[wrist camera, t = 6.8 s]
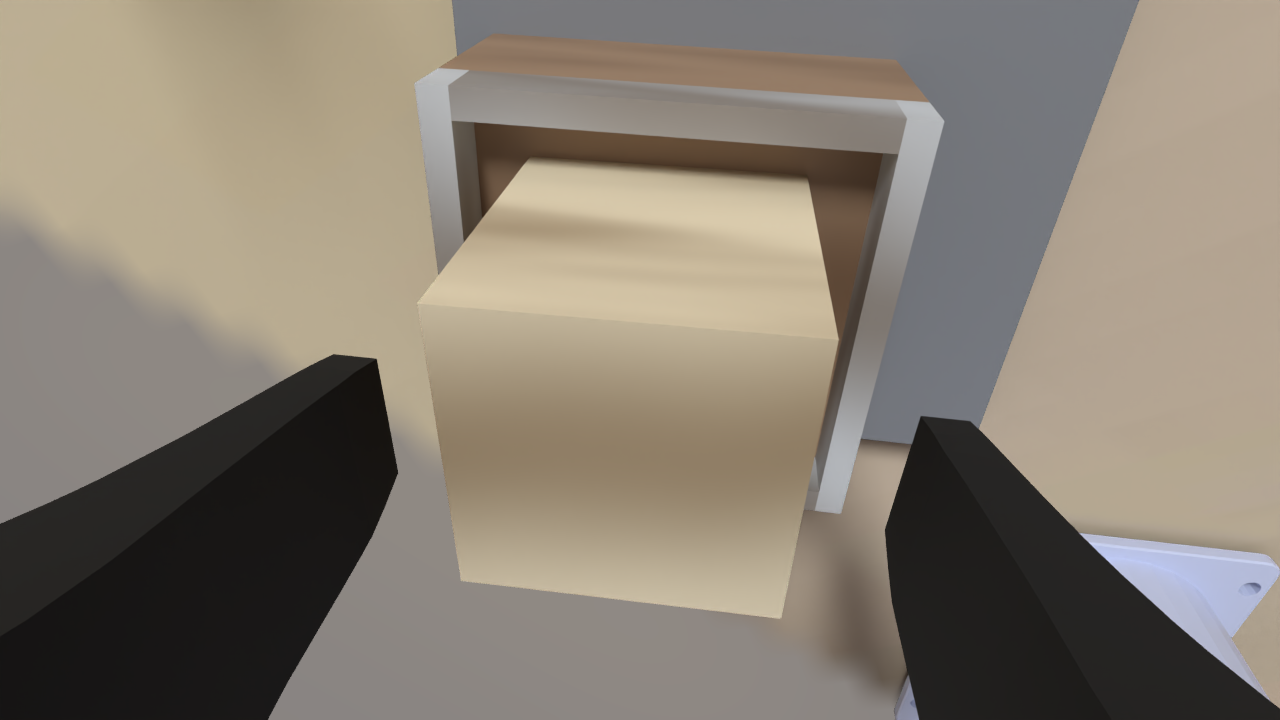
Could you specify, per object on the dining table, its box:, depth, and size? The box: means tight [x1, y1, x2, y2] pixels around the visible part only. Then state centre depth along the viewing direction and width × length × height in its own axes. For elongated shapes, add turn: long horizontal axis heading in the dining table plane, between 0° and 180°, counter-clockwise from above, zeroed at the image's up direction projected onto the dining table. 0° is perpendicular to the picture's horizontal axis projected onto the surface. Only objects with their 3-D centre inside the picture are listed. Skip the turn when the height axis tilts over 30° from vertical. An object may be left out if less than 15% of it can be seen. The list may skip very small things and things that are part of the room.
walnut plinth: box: [414, 33, 944, 514], centre depth 14 cm, size 8×8×4 cm
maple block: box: [417, 157, 839, 619], centre depth 11 cm, size 4×4×5 cm
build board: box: [452, 0, 1139, 444], centre depth 14 cm, size 18×12×1 cm, turn 178°
